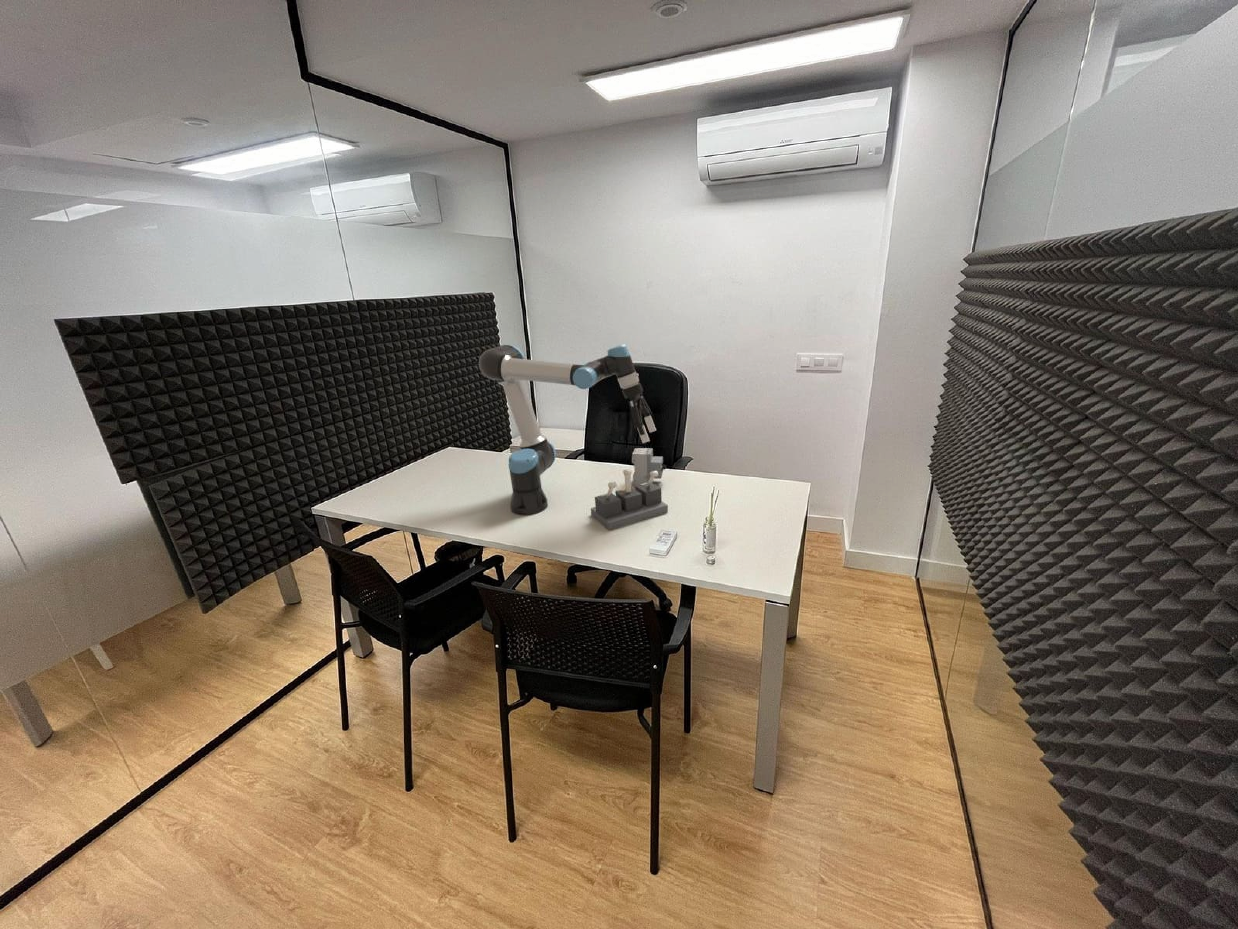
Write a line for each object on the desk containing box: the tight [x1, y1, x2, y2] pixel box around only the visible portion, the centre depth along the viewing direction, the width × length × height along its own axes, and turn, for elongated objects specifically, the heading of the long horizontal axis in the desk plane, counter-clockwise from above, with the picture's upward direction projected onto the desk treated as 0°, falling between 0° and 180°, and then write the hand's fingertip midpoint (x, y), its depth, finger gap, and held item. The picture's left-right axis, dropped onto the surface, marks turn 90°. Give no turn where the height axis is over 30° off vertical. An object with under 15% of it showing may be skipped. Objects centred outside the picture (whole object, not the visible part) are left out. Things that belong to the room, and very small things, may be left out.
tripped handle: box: [622, 468, 633, 493], centre depth 184 cm, size 2×2×9 cm
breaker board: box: [590, 471, 669, 531], centre depth 186 cm, size 15×26×17 cm, turn 119°
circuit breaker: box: [631, 447, 667, 486], centre depth 213 cm, size 8×14×15 cm, turn 78°
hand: (649, 436), depth 188 cm, fingers open, 13 cm apart
